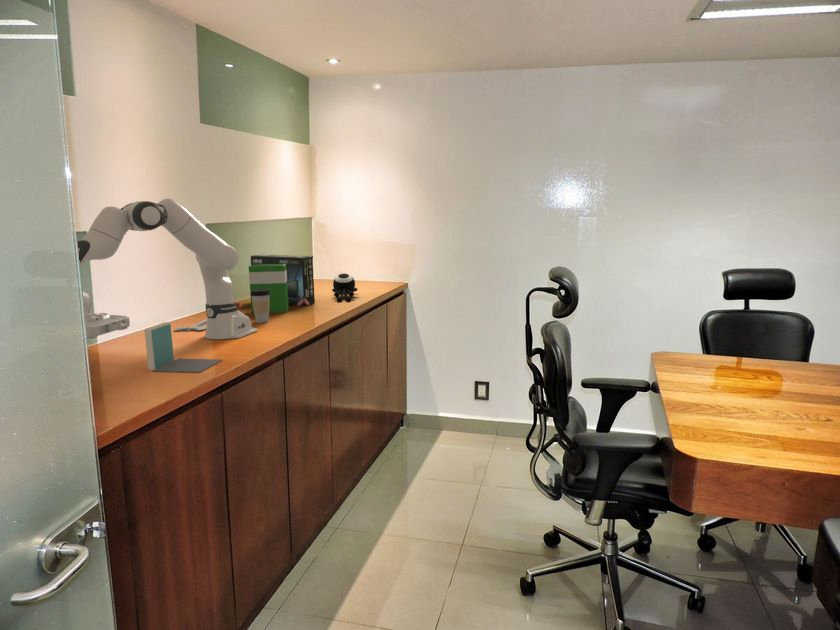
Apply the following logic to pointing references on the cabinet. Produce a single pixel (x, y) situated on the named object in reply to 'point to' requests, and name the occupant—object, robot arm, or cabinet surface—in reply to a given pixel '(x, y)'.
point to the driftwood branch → (197, 327)
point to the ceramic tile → (159, 345)
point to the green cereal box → (271, 284)
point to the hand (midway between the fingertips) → (125, 326)
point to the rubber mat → (188, 365)
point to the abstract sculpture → (344, 287)
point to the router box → (293, 276)
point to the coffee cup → (261, 304)
